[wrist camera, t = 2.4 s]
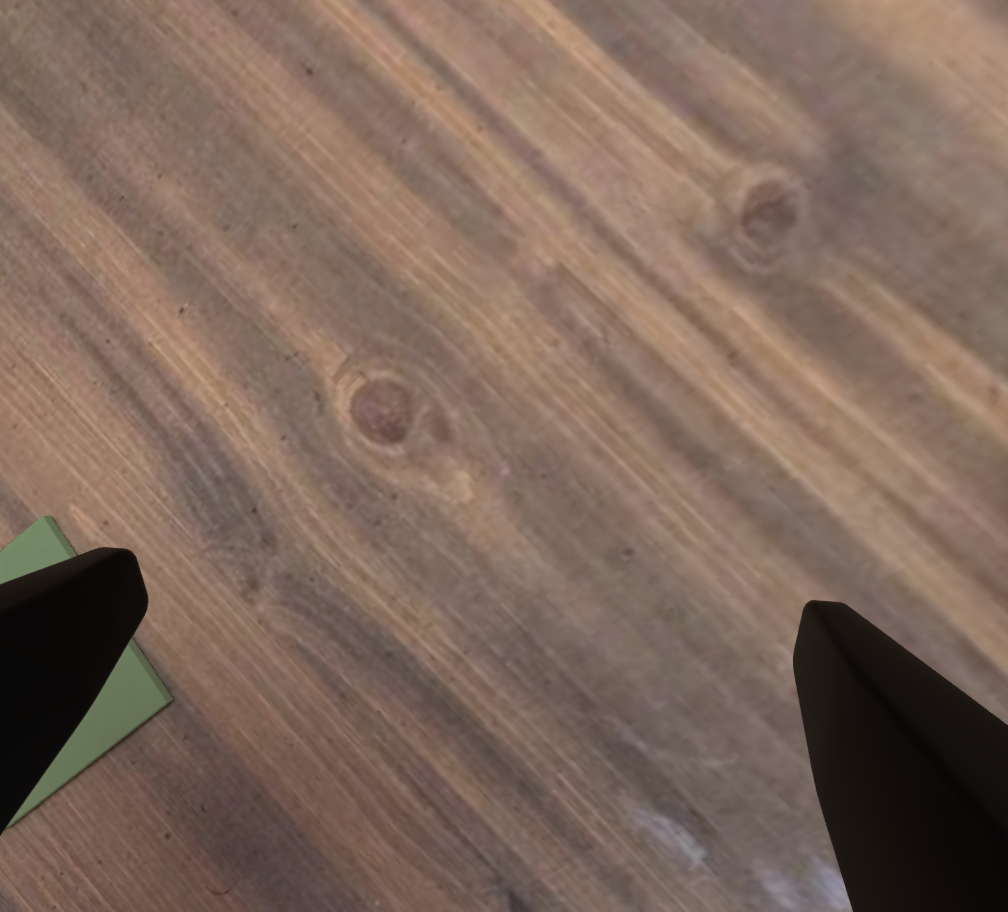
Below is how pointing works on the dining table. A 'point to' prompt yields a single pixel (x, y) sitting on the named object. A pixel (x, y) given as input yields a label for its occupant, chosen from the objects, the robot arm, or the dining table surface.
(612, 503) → the dining table surface
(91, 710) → the coaster
